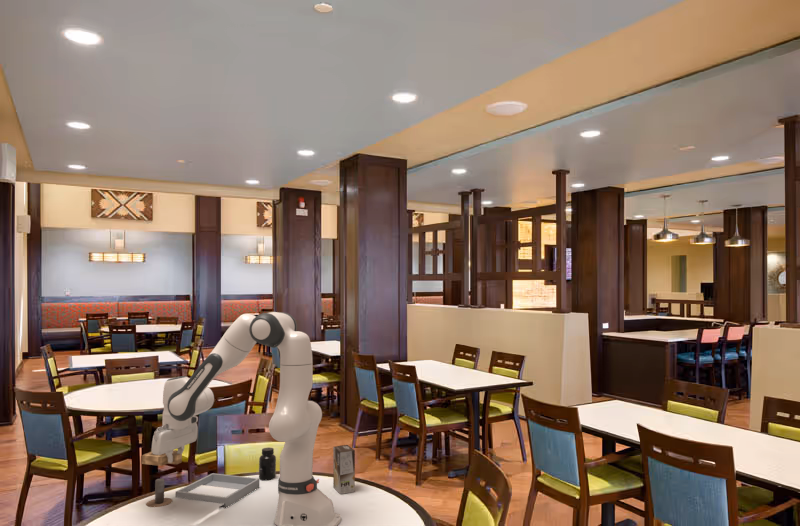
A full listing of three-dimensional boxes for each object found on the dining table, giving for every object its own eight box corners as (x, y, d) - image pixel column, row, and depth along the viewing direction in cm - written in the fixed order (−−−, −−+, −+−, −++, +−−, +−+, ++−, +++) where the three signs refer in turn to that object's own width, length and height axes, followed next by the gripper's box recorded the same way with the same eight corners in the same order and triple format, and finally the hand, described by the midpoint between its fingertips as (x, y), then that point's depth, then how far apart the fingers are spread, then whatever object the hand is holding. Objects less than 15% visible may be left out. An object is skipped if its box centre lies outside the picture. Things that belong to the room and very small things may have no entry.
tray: (259, 487, 218) (259, 478, 219) (226, 508, 198) (226, 498, 198) (212, 481, 225) (212, 473, 225) (175, 501, 204) (175, 491, 204)
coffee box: (355, 492, 213) (355, 450, 214) (339, 494, 211) (340, 452, 212) (347, 484, 222) (347, 444, 223) (332, 487, 219) (332, 446, 220)
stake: (178, 503, 202) (178, 477, 202) (160, 512, 193) (161, 485, 194) (158, 500, 205) (158, 474, 205) (139, 509, 196) (140, 482, 197)
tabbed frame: (187, 459, 202) (187, 451, 202) (171, 466, 193) (171, 458, 193) (159, 456, 205) (159, 448, 205) (141, 463, 197) (142, 455, 197)
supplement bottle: (255, 479, 228) (256, 450, 228) (264, 474, 234) (264, 446, 235) (270, 481, 226) (270, 451, 226) (278, 476, 232) (279, 447, 233)
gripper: (162, 429, 188) (161, 470, 187) (200, 416, 207) (200, 453, 207) (147, 427, 190) (146, 468, 189) (186, 415, 209) (186, 452, 209)
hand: (174, 460), depth 198 cm, fingers closed on tabbed frame, 2 cm apart
